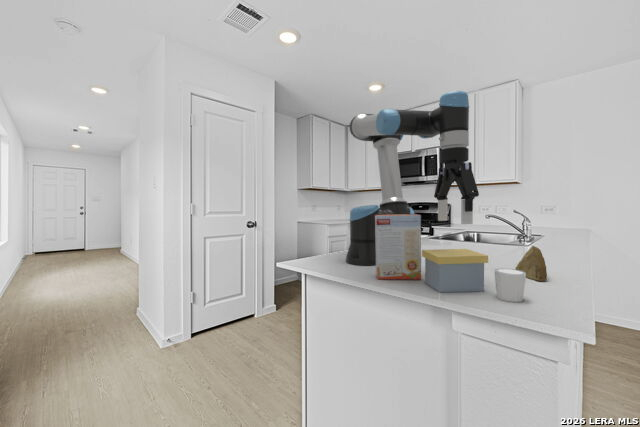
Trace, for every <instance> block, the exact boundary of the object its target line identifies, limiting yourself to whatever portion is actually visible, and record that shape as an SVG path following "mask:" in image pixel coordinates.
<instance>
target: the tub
mask: <svg viewBox="0 0 640 427" xmlns="http://www.w3.org/2000/svg"><path fill="white" fill-rule="evenodd" d="M424 258H425V257H424ZM424 263H425V264H424V268H425V269H424V270H425V271H424V278H425V279H424V281H425V282H424V283H425V284H427V285H428V286H430V287H431V288H432V289H434V290H436V291H437V292H438V293H455V292H456V293H459V292H484V291H485V285H484V284H485V263H466V264H437V263H435V262H433V261H431V260H429V259H427V258H425V259H424Z"/></svg>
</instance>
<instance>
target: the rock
mask: <svg viewBox="0 0 640 427" xmlns="http://www.w3.org/2000/svg"><path fill="white" fill-rule="evenodd" d="M514 270H520V271H523V272H525V273H526V278H527V279H531V280H534V281H537V282H538V281H539V282H546V281H547V277H548V273H547V272H548V271H547V265H546V261H545V258H544V256H543V253H542V250H541V249H540V248H539V247H537V246H535V245H532V246H531V247H530V248H529V249H528V250H527V251H526V252H525V253H524V255H523V256H522V258H521V260H520V261H519V262H518V263H517V264H516V267H515V269H514Z"/></svg>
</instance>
